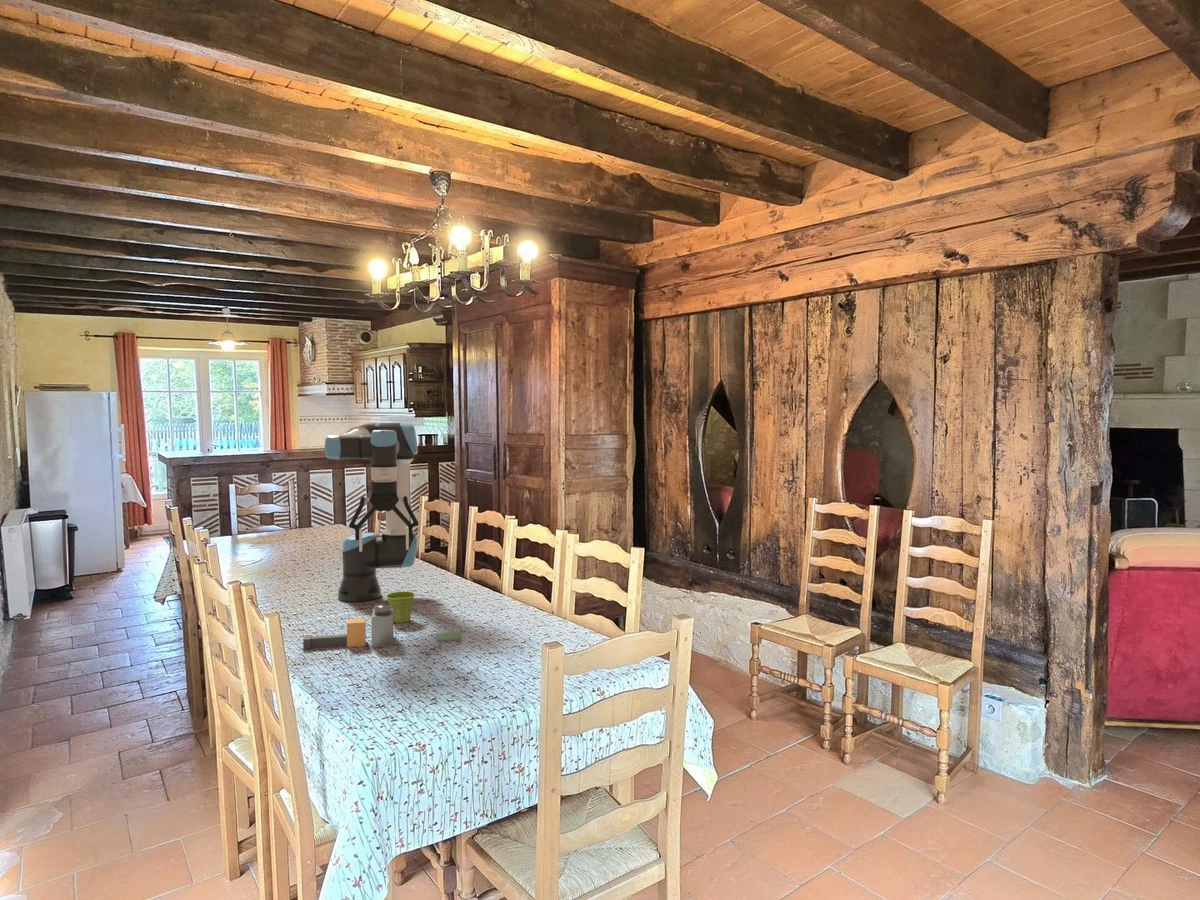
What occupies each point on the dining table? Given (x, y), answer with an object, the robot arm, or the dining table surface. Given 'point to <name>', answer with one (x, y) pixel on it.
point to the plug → (340, 637)
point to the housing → (382, 625)
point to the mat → (448, 636)
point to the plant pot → (401, 605)
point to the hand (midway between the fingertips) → (384, 550)
